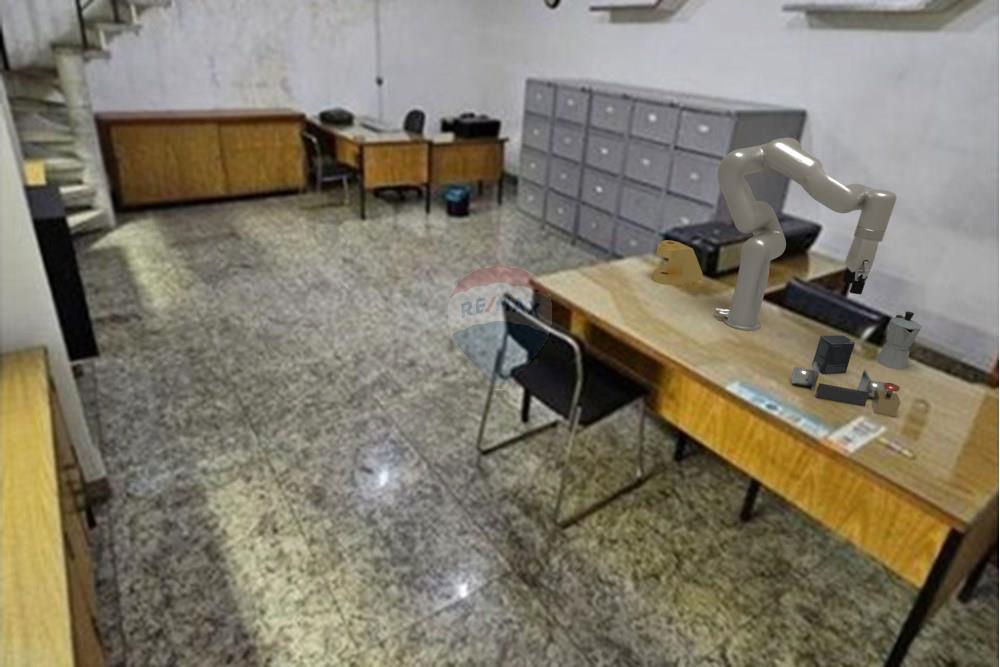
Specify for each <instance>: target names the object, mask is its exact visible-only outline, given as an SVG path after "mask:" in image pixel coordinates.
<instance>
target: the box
mask: <svg viewBox="0 0 1000 667" xmlns="http://www.w3.org/2000/svg"><path fill="white" fill-rule="evenodd" d="M855 344H856V342H854V340H852V339H850V338H849V337H847V336H846V335H843V334H842V335H841V334H840V335H839V334H838V335H821V336H819V341H818V344H817V348H816V350H815V354H814V357H813V361H812V364H811V366H812V367H813V363H814V361H815V362H817V365H818V368H819V371H820V373H819V374H821V375H835V374H836V375H837V374H838V375H839V374H846V372H847V370H848V366H849V364H850V360H851V357H852V353H853V350H854V347H855Z"/></svg>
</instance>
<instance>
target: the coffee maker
mask: <svg viewBox="0 0 1000 667" xmlns="http://www.w3.org/2000/svg"><path fill="white" fill-rule="evenodd" d="M914 315H915V313H914V312H911V311H905V313H904V316H903V315H901V314H897V315H895V317H892V318H891V319H890V320H889V325H888V330H887V334H886V339H885V340H886V342H885V343H884V344H883V346H882V348H881V350H880V351H879V353H878V354H877V356H876V358H875V359H876V361H877V364H880V365H881V366H883V367H886V368H888V369H894V370H899V371H902V370H904V369H907V368H908V362H909V356H910V348H911V347H912V346H913V343H914V342H915V340H916V338H917V336H918V334H919V333H920V330H921V329H922V327H923V325H921V324H919V323H918V322H917V321H915V320H912V318H913V317H914Z"/></svg>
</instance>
